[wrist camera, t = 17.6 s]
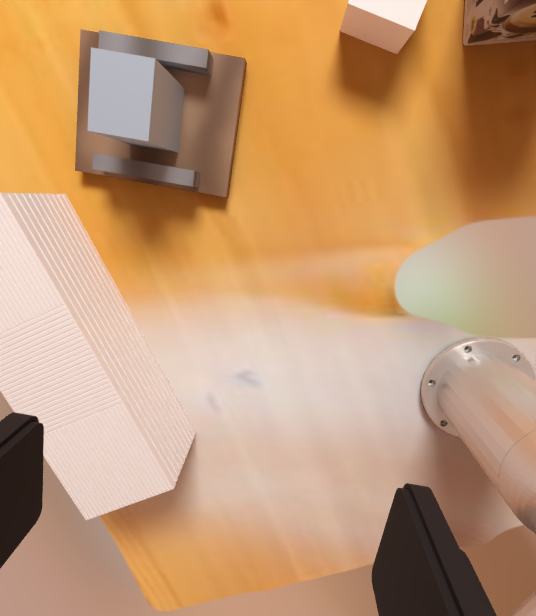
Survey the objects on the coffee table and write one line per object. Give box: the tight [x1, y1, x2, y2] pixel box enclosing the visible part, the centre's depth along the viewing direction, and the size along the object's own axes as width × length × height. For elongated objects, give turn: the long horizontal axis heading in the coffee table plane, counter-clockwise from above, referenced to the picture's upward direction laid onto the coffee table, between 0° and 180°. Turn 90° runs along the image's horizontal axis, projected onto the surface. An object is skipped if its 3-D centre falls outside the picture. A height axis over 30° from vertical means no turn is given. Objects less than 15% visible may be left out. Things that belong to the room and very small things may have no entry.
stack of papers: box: [0, 193, 196, 520], centre depth 44 cm, size 32×11×11 cm, turn 24°
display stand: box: [75, 30, 247, 197], centre depth 40 cm, size 16×13×4 cm
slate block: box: [88, 47, 185, 153], centre depth 36 cm, size 5×6×9 cm
